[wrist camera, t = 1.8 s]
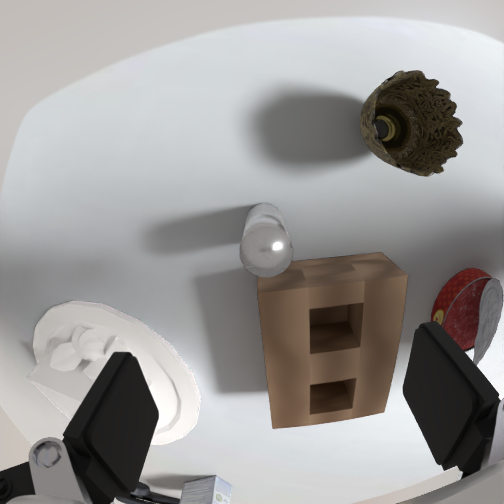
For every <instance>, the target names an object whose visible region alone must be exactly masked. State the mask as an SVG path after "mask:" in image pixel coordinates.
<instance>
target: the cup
mask: <svg viewBox="0 0 504 504" xmlns="http://www.w3.org/2000/svg"><path fill="white" fill-rule="evenodd" d="M438 84H439V81H438V80H436V79H430V80H428V79H427V78H425V74H424V73H423V72H422V71H418V70H415V71H408V72H404V71H398V72H396V73H395V74H394V75H393V76H392V77H390V78H388V79H386V80H385V81H384V82H383V83H381V85H380V86H379V87H378V88H376V89H375V90H374V91H373V93H372V94H371V95H370V96H369V97H368V99H367V100H366V102H365V103H364V105H363V108H362V110H361V114H360V129H361V133H362V136H363V139H364V141H365V143H366V145H367V146H368V148H369V149H370V150H371V151H372V152H373V153H374V154H375V155H376V156H377V157H378V158H380V159H381V160H383V161H384V162H386V163H388V164H390V165H392V166H395V167H397V168H400V169H402V170H404V171H406V172H410V173H413V174H416V175H419V176H431V175H433V174H434V173H441V172H443V171H444V169H443V167H441V165H443V164H445V163H446V161H447V159H449V158H452V157H456V156H457V152H456V151H455V150H456V149H458V148H459V147H460V146H461V145H462V144H463V138H462V136H461V135H460V133H459V132H458V130H457V128H458V127H460V126H461V125H462V121H461V120H460V119H459V118H455V117H453V116H452V115H454V114H455V110H456V108H457V105H456V103H455V102H452V101H451V100H449V99H450V95H451V94H450V93H449V92H448V91H447V90H444V89H439V88H436V86H437V85H438ZM378 120H382V121H384V122H385V123H386V124H387V125H388V128H389V132H388V134H387V136H385V137H383V138H380V137H378V133H377V130H376V126H375V124H374V123H375V122H376V121H378Z"/></svg>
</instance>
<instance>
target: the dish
mask: <svg viewBox="0 0 504 504" xmlns="http://www.w3.org/2000/svg"><path fill="white" fill-rule="evenodd" d="M33 351H34V355H35V359H36V362H37V366H36V367H35V368H34V369H33V371H32V372H31V373H30V374H29V375H28V376H27V378H28V379H29V380H30V381H31V382H32V383H33V384H34V385H35V386H36V387H37V389H38V390H39V391H40V392H41V393H42V394H43V395H44V396H45V397H46V398H47V399H48V400H49V401H50V402H51V403H52V404H54V405H55V406H56V407H57V408H58V409H59V410H60V411H61V412H62V413H63V414H64V415H65V416H66V417H68V418H69V419H70V420H71V419H72V418H73V416H74V414H75V413H76V411H77V409H78V408H79V406H80V404H81V403H82V401H83V399H84V398H85V396H86V395H87V393H88V391H89V390H90V388H91V386H92V385H93V383H94V382H95V380H96V378H97V377H98V375H99V374H100V372H101V371H102V369H103V367H104V366H105V364H106V363H107V361H108V360H109V358H110V357H111V355H112V354H113V353H114V352H130V353H131V354H132V355H133V356H135V357H136V358H137V359H138V362H139V364H140V367H141V370H142V372H143V375H144V377H145V380H146V382H147V385H148V387H149V389H150V392H151V394H152V396H153V399H154V401H155V403H156V406H157V408H158V410H159V419H158V422H157V425H156V429H155V432H154V435H153V438H152V441H151V444H150V445H164V444H167V443H170V442H173V441H176V440H178V439H181V438H184V437H185V436H186V435H187V434H188V432H189V431H190V430H191V429H192V428H193V427H194V426H195V425H196V424H197V420H198V414H199V408H200V402H201V396H200V393H199V390H198V387H197V384H196V381H195V378H194V376H193V373H192V371H191V370H190V368H189V367H188V366H187V365H186V363H185V362H184V361H183V360H182V358H181V357H180V356H179V355H178V353H177V352H176V351H175V349H174V348H173V347H172V345H171V344H170V343H168V342H167V341H166V340H164V339H163V338H162V337H160V336H159V335H158V334H156V333H155V332H154V331H153V330H151V329H150V328H149V327H147V326H146V325H145V324H144V323H142V322H141V321H140V320H139V319H136V318H134V317H132V316H129V315H127V314H125V313H123V312H120V311H118V310H116V309H114V308H112V307H110V306H107V305H105V304H100V303H92V302H84V301H77V300H73V301H69V302H66V303H63V304H60V305H57V306H54V307H51V308H50V309H49V310H48V311H47V312H46V313H45V315H44V316H43V317H42V318H41V320H40V321H39V322H38V323H37V325H36V326H35V332H34V339H33Z"/></svg>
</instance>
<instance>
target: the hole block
mask: <svg viewBox="0 0 504 504" xmlns="http://www.w3.org/2000/svg"><path fill="white" fill-rule="evenodd" d="M407 281H408V275H407V274H406V273H404V272H403V271H402V270H401V269H400V268H399V267H398V266H397V265H396V264H394V263H393V262H392V261H391V260H390V259H389V258H388V257H387V256H385V255H384V254H383V253H382V252H379V253H369V254H360V255H350V256H341V257H331V258H321V259H311V260H300V261H291V263H290V264H289V266H288V267H287V268H286V269H285V270H284V271H283V272H282V273H280V274H278V275H276V276H273V277H260V276H258V281H257V296H258V304H259V313H260V322H261V331H262V340H263V349H264V358H265V366H266V375H267V384H268V393H269V402H270V411H271V420H272V429H277V428H289V427H299V426H308V425H316V424H323V423H330V422H337V421H343V420H349V419H354V418H359V417H365V416H369V415H374V414H379V413H383V412H384V411H385V407H386V403H387V399H388V395H389V391H390V387H391V382H392V378H393V373H394V369H395V364H396V358H397V353H398V348H399V342H400V336H401V329H402V323H403V316H404V308H405V300H406V291H407Z"/></svg>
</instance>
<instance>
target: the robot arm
mask: <svg viewBox="0 0 504 504" xmlns="http://www.w3.org/2000/svg"><path fill="white" fill-rule="evenodd" d="M403 395H404V397H405V399H406V401H407V403H408V405H409V407H410V409H411V411H412V413H413V415H414V417H415V419H416V421H417V423H418V425H419V427H420V429H421V431H422V434H423V436H424V438H425V440H426V442H427V444H428V446H429V448H430V450H431V453H432V455H433V457H434V459H435V461H436V463H437V464H438V465H442V467H443V470H444V471H445V470H448V469H450V468H452V467H455V466H458V468H459V470H460V472H459V475H458V477H457V480H456V482H454V483H452V484H449V485H447V486H445V487H442V488H439V489H437V490H434V491H432V492H429V493H427V494H424V495H421V496H418V497H415V498H413V499H410V500H406V501H403V502H400V503H397V504H504V398H503V399H502V401H501V400H500V399H499V398H498V396H499V393H498V392H497V391H496V389H495V388H494V387H493V386H492V384H491V383H490V382H489V381H488V379H487V378H486V377H485V376H484V374H483V373H482V372H481V371H480V370H479V368H478V367H477V366H476V365H475V364H474V362H473V361H472V360H471V359H470V358H469V357H468V355H467V354H466V353H465V352H464V351H463V350H462V348H461V347H460V346H459V345H458V344H457V343H456V342H455V341H454V339H453V338H452V337H451V336H450V335H449V334H448V333H447V332H446V330H445V329H444V328H443V327H442V326H441V325H440V324H439V323H438V322H437V321H431V322H427V323H423V324H420V326H419V328H418V329H416V330H415V333H414V338H413V344H412V349H411V354H410V358H409V363H408V367H407V372H406V376H405V380H404V384H403ZM158 419H159V410H158V408H157V406H156V403H155V401H154V399H153V396H152V394H151V392H150V389H149V387H148V385H147V382H146V380H145V377H144V375H143V372H142V370H141V367H140V364H139V362H138V359H137V358H136V357H135V356H133V355H132V354H131V353H130V352H114V353H113V354H112V355H111V357H110V358H109V360H108V361H107V363H106V364H105V366H104V367H103V369H102V371H101V372H100V374H99V375H98V377H97V378H96V380H95V382H94V383H93V385H92V386H91V388H90V390H89V391H88V393H87V395H86V396H85V398H84V399H83V401H82V403H81V404H80V406H79V408H78V409H77V411H76V413H75V414H74V416H73V418H72V419H71V421H70V423H69V425H68V426H67V428H66V430H65V432H64V433H63V436H64V439H63V440H62V441H61V440H60V439H57V438H53V437H48V438H43V439H41V440H39V441H38V442H36V443H35V444H34V445H33V446H32V448H31V450H30V452H29V461H28V462H25V463H23V464H20V465H17V466H14V467H11V468H9V469H6V470H3V471H0V504H114V502H113V501H114V498H115V496H118V497H122V498H126V499H129V498H130V494H131V492H135V490H136V488H137V485H138V482H139V478H140V475H141V472H142V469H143V466H144V462H145V459H146V456H147V453H148V450H149V447H150V444H151V441H152V438H153V435H154V432H155V429H156V425H157V422H158Z"/></svg>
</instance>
